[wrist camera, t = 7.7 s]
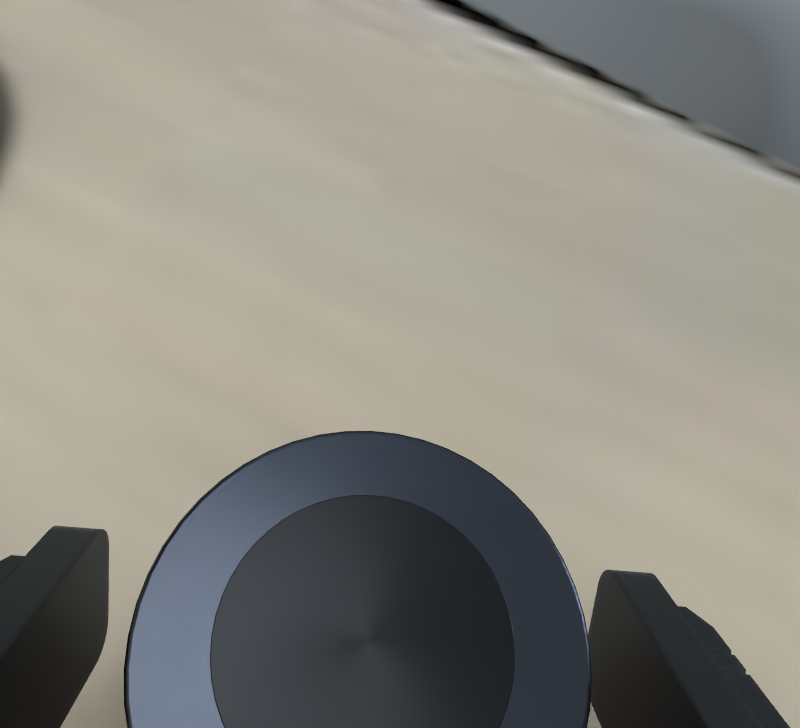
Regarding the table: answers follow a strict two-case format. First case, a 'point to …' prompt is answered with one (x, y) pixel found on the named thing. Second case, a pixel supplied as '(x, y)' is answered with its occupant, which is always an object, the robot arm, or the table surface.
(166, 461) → the table surface
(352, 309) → the table surface
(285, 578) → the socket
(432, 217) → the table surface
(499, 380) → the table surface
